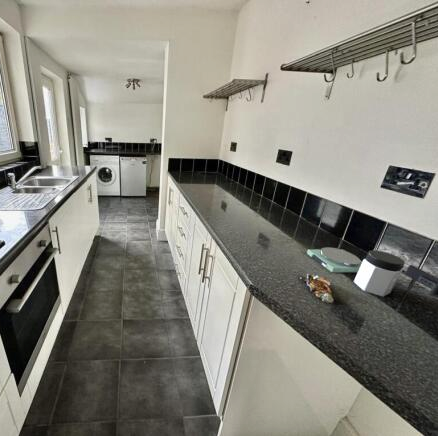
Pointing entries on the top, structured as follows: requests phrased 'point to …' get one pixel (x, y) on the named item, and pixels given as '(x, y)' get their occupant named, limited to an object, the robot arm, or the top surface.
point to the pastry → (319, 287)
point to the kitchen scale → (332, 263)
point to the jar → (379, 272)
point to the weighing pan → (340, 256)
